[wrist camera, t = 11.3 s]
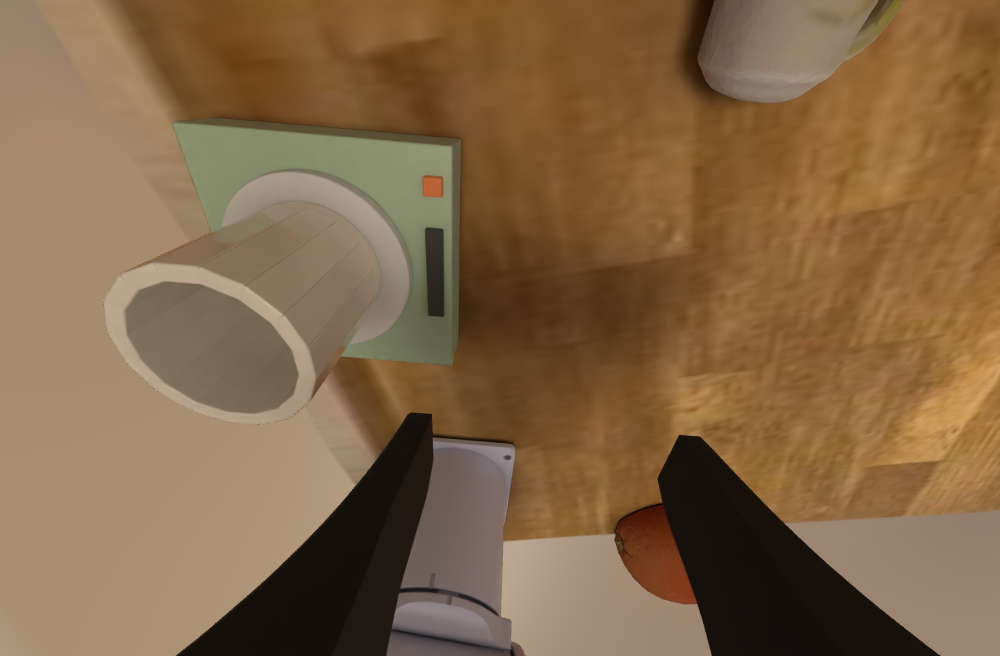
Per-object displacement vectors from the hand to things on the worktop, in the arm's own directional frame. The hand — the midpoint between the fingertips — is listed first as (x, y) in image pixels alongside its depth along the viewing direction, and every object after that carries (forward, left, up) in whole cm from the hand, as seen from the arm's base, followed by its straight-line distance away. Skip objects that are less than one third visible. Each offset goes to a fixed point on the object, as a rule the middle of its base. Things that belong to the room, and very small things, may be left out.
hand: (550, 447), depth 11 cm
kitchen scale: (+2, +9, -9) cm, 13 cm away
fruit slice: (-17, -12, -6) cm, 22 cm away
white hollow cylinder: (+2, +10, -6) cm, 12 cm away
